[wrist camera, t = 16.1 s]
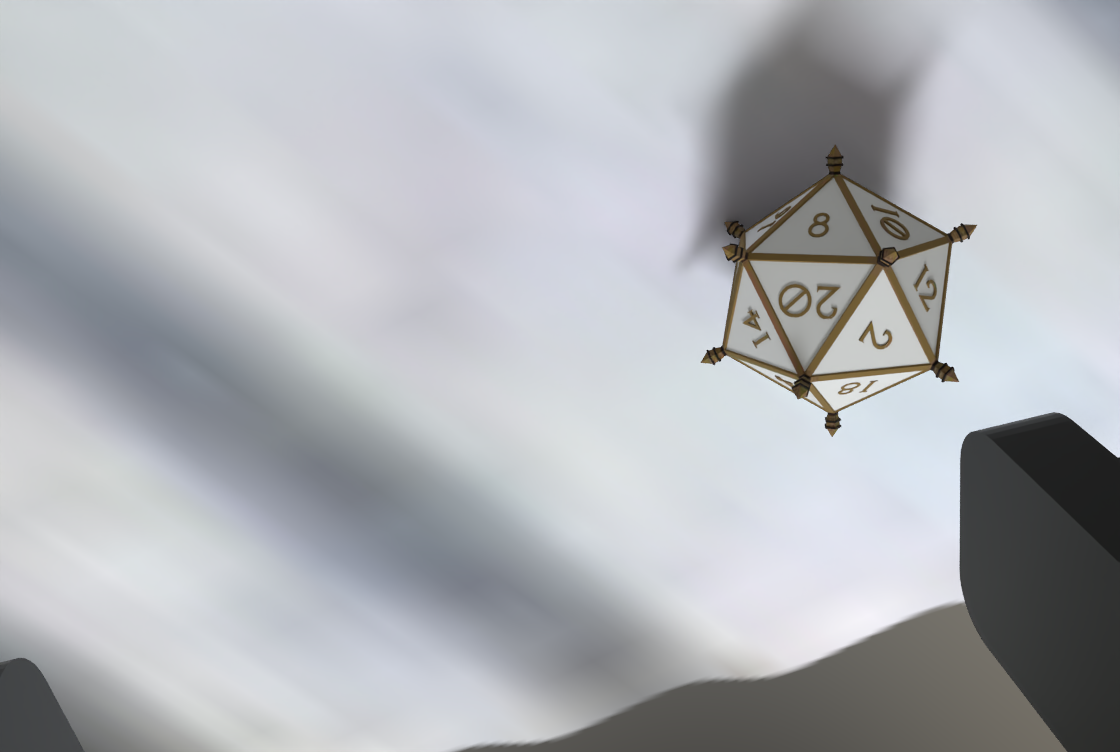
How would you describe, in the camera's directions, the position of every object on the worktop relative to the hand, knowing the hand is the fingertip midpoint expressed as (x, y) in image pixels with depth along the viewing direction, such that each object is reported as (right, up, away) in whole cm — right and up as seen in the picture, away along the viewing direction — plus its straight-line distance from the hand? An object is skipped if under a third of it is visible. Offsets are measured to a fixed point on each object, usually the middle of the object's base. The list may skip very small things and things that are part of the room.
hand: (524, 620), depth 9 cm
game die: (+9, +7, +30) cm, 32 cm away
